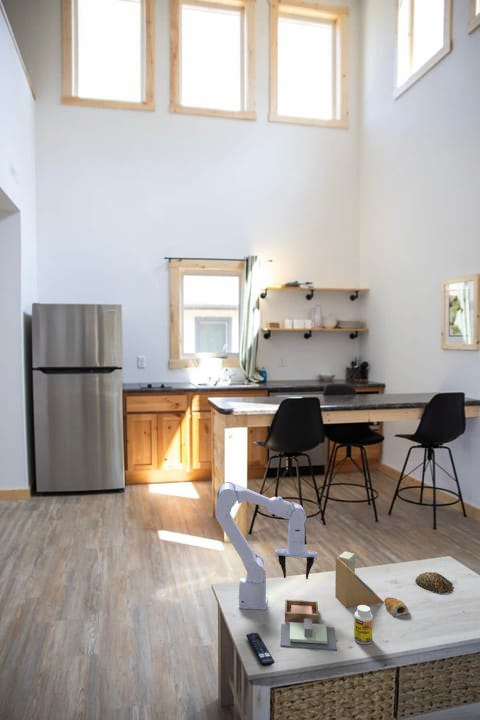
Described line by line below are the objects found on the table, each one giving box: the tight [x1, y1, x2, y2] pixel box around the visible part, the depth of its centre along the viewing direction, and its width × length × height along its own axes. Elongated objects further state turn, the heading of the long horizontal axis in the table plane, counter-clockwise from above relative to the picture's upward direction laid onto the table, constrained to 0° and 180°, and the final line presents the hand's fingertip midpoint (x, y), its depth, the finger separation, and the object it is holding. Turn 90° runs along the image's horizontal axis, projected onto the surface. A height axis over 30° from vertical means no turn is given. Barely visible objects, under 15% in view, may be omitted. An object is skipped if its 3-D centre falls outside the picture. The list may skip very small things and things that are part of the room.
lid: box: [289, 618, 327, 644], centre depth 167 cm, size 11×9×4 cm
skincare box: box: [337, 550, 356, 574], centre depth 200 cm, size 6×4×12 cm
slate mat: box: [279, 623, 338, 651], centre depth 167 cm, size 17×12×1 cm
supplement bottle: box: [353, 605, 374, 645], centre depth 165 cm, size 6×6×10 cm
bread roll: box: [415, 571, 454, 594], centre depth 202 cm, size 13×12×5 cm
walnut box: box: [284, 599, 319, 624], centre depth 180 cm, size 11×9×3 cm
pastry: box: [383, 597, 409, 617], centre depth 185 cm, size 9×7×4 cm
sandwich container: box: [334, 556, 385, 609], centre depth 190 cm, size 9×15×15 cm, turn 106°
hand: (295, 577), depth 187 cm, fingers open, 7 cm apart
